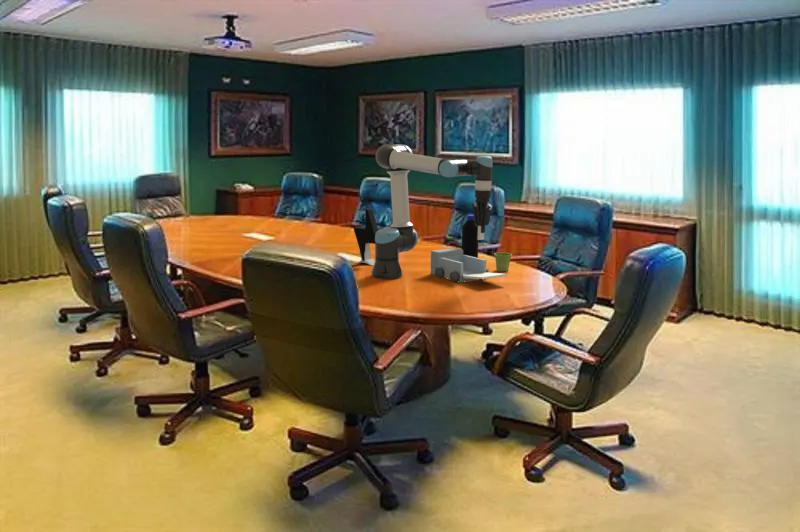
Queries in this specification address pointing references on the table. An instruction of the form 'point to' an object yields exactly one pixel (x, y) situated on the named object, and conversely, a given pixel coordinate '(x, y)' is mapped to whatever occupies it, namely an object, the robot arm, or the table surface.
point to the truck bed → (455, 264)
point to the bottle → (470, 237)
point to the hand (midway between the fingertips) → (480, 239)
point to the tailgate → (484, 275)
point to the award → (366, 237)
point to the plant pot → (502, 261)
